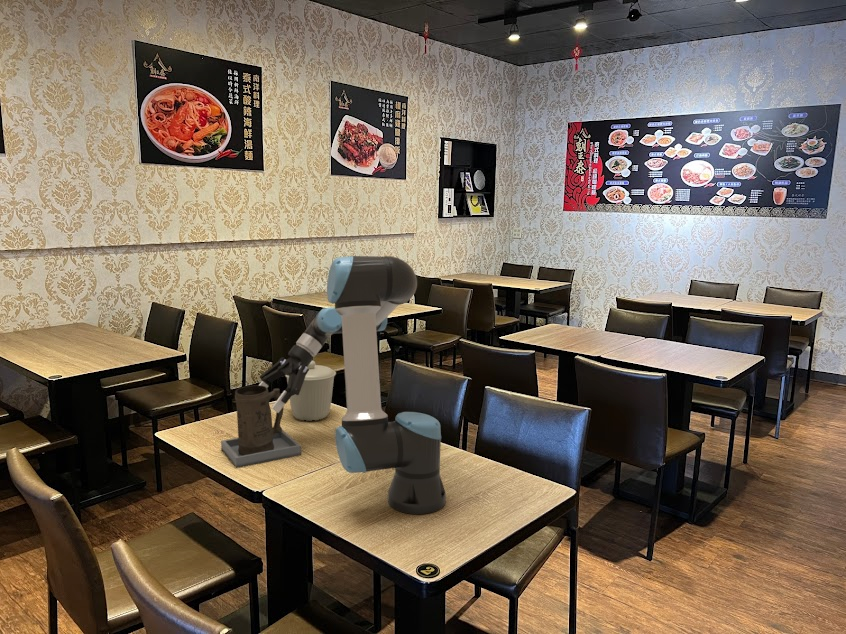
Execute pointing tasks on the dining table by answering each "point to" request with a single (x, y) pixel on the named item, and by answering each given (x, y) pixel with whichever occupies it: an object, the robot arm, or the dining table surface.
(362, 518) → the dining table surface
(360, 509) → the dining table surface
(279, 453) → the tray
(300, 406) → the canister
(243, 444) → the beer stein
